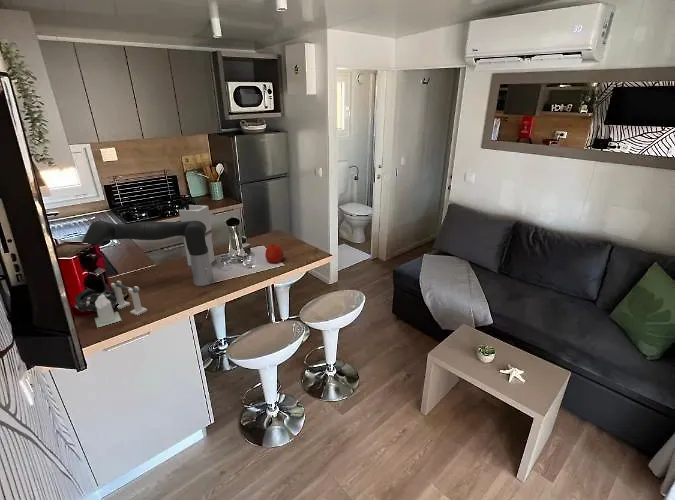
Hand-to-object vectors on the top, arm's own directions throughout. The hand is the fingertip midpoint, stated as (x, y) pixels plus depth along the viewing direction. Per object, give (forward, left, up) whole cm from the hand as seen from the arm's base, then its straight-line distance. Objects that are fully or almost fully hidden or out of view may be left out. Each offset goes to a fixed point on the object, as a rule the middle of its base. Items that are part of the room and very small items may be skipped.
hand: (106, 304), depth 153 cm
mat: (+2, -1, -9) cm, 9 cm away
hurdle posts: (-2, -11, -9) cm, 14 cm away
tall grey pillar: (-13, -60, -9) cm, 62 cm away
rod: (-2, -11, +2) cm, 11 cm away
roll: (+2, -1, -8) cm, 8 cm away
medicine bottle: (-31, -78, -9) cm, 84 cm away
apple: (-53, -72, -9) cm, 90 cm away
